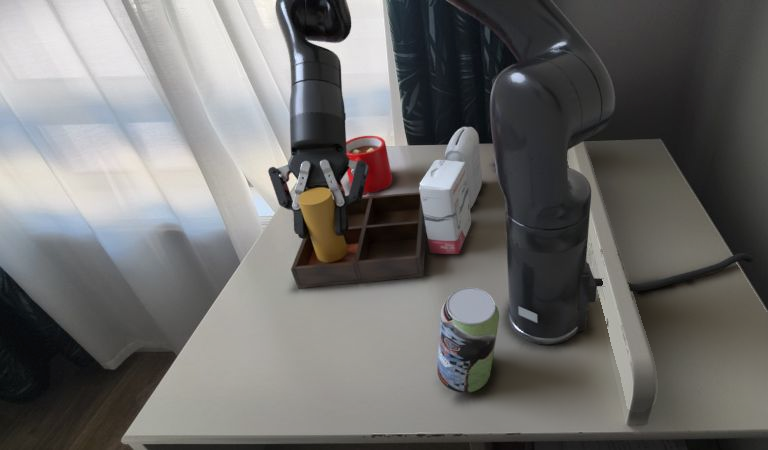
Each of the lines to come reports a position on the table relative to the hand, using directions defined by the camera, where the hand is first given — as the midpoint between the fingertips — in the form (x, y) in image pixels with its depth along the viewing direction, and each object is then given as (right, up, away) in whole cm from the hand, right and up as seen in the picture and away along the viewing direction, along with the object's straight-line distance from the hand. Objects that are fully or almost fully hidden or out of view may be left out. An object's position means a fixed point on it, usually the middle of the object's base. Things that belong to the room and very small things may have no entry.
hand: (322, 235), depth 68 cm
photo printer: (+19, +6, +20) cm, 28 cm away
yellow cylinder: (0, -3, +4) cm, 5 cm away
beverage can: (+21, -16, -12) cm, 29 cm away
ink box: (+17, -1, +10) cm, 20 cm away
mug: (0, +8, +24) cm, 25 cm away
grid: (+4, -2, +9) cm, 10 cm away
